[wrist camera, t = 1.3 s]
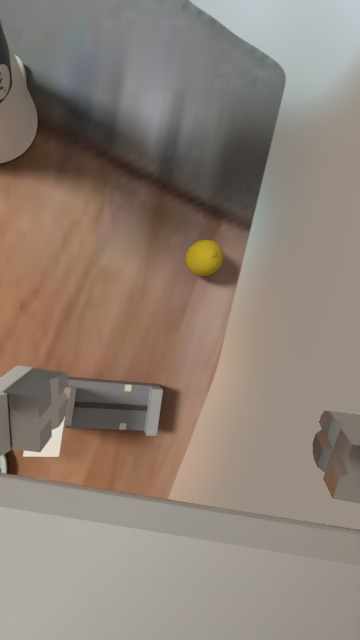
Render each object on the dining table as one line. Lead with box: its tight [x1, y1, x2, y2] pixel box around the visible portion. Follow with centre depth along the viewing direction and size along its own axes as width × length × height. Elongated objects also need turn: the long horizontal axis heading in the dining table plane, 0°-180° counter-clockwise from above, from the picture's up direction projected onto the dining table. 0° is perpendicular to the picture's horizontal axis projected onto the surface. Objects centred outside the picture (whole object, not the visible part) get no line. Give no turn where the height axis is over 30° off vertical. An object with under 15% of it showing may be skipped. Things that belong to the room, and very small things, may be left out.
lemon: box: [186, 240, 223, 276], centre depth 47 cm, size 6×6×8 cm
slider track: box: [65, 377, 163, 436], centre depth 44 cm, size 20×7×4 cm, turn 83°
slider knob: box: [23, 387, 76, 457], centre depth 37 cm, size 5×6×10 cm
